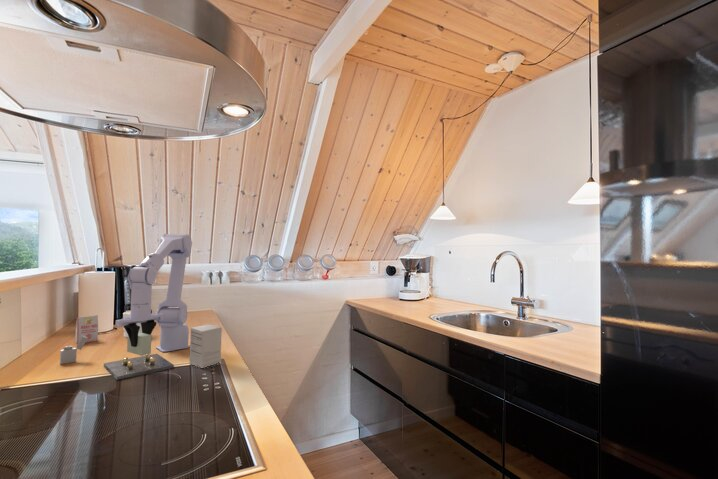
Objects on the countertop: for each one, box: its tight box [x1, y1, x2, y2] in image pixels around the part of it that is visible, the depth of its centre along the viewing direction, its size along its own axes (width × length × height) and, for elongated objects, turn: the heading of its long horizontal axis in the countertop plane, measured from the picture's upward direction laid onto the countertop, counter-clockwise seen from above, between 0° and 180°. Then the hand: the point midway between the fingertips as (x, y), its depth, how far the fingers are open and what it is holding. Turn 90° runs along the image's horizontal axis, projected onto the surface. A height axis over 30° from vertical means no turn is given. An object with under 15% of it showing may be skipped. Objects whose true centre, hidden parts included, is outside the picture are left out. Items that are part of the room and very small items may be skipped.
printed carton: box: [74, 315, 99, 345], centre depth 147 cm, size 4×7×10 cm, turn 136°
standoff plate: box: [103, 353, 175, 381], centre depth 120 cm, size 16×16×3 cm
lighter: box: [59, 336, 88, 365], centre depth 123 cm, size 7×2×8 cm, turn 136°
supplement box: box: [189, 323, 223, 368], centre depth 124 cm, size 7×7×13 cm
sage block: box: [126, 332, 152, 357], centre depth 120 cm, size 3×8×6 cm, turn 62°
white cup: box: [122, 310, 142, 339], centre depth 157 cm, size 8×8×10 cm
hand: (139, 345), depth 120 cm, fingers closed on sage block, 3 cm apart
